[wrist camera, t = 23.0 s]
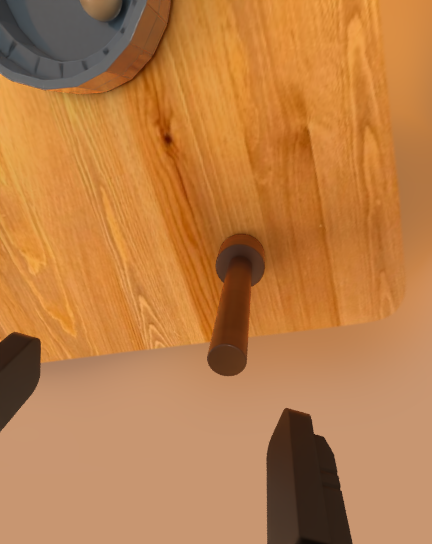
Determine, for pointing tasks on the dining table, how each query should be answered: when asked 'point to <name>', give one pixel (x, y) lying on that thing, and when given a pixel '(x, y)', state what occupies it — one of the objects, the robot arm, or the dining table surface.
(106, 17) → the bead
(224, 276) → the masher
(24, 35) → the bowl
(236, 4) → the dining table surface
